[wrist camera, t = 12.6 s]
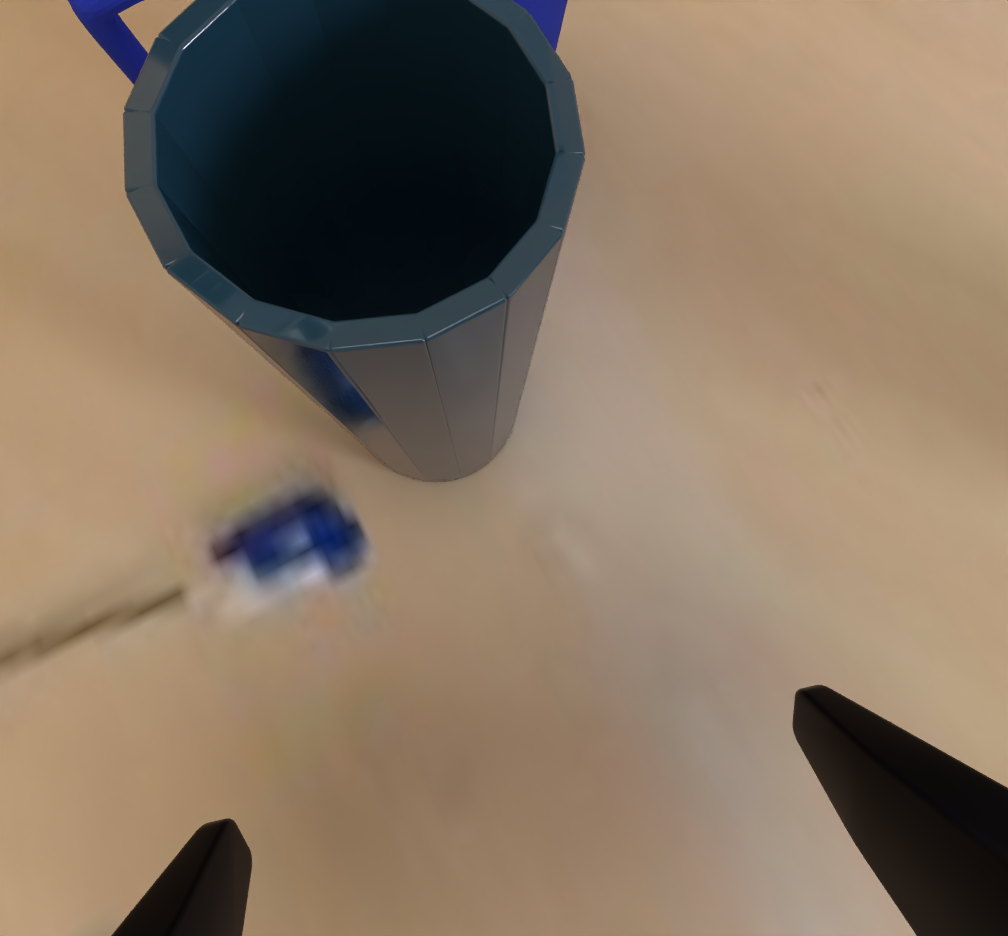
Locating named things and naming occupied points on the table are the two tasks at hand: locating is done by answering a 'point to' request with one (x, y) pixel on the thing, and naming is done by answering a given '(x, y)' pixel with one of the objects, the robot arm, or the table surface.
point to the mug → (99, 14)
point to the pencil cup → (366, 203)
